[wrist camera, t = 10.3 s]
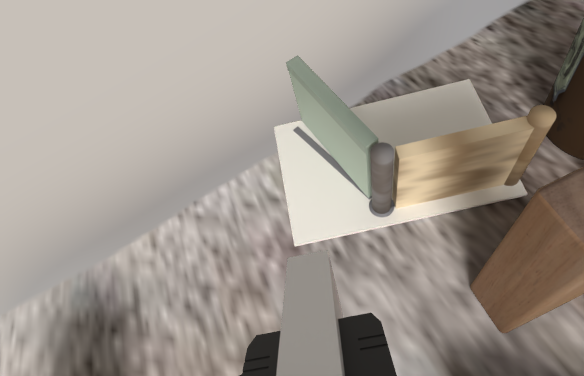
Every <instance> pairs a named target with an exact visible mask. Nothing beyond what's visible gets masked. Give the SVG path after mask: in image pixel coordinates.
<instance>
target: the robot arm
mask: <svg viewBox="0 0 584 376" xmlns="http://www.w3.org/2000/svg"><path fill="white" fill-rule="evenodd" d="M240 376H397V375H396V372H395V368H394V365H393V361H392V358H391V355H390V351H389V348H388V344H387V341H386V337H385V334H384V330H383V327H382V324H381V321H380V320H378V319H377V318H376V317H375V316H374V315H373V314H372V313H367V314H362V315H357V316H351V317H346V318H343V313H342V309H341V304H340V300H339V296H338V292H337V287H336V283H335V279H334V274H333V270H332V266H331V262H330V257H329V253H328V250H325V251H320V252H315V253H310V254H305V255H300V256H295V257H291V258H288V261H287V271H286V281H285V291H284V302H283V312H282V322H281V331H277V332H272V333H267V334H261V335H256V337H255V338H254V339H253V341H252V342H251V344H250V345H249V346H248V348H247V353H246V357H245V363H244V367H243V373H242V375H240Z"/></svg>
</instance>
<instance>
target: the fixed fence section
mask: <svg viewBox="0 0 584 376" xmlns="http://www.w3.org/2000/svg"><path fill="white" fill-rule="evenodd" d="M555 119H556V112H555V111H554V110H553V109H552V108H551V107H549V106H546V105H537V106H534V107H533V108H532V109H531V110H530V112H529V114H528V116H523V117H519V118H515V119H511V120H506V121H502V122H498V123H494V124H489V125H485V126H481V127H477V128H472V129H468V130H464V131H459V132H455V133H451V134H447V135H442V136H438V137H434V138H430V139H425V140H421V141H417V142H413V143H408V144H404V145H400V146H395V159H394V149H393V147H392V146H391V145H390V144H388V143H384V142H381V143H377V144H375V145H374V146H373V147H372V148H371V150H370V160H371V189H372V208H373V210H374V211H375V212H376V213H378V214H385V213H387V212H389V211H390V209H391V200H392V199H393V201H394V205H395V208H396V209H397V208H401V207H406V206H410V205H415V204H419V203H424V202H428V201H433V200H437V199H442V198H446V197H451V196H455V195H460V194H464V193H469V192H473V191H478V190H482V189H487V188H491V187H496V186H500V185H506V186H514V185H516V184H517V183H518V181H519V180H520V178H521V176H522V175H523V173H524V171H525V170H526V168H527V166H528V165H529V163H530V161H531V160H532V158H533V156H534V155H535V153H536V151H537V150H538V148H539V146H540V145H541V143H542V141H543V139H544V138H545V136H546V134H547V133H548V131H549V129H550V128H551V126H552V124H553V123H554V121H555ZM393 165H394V176H393ZM392 183H393V193H392Z"/></svg>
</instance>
